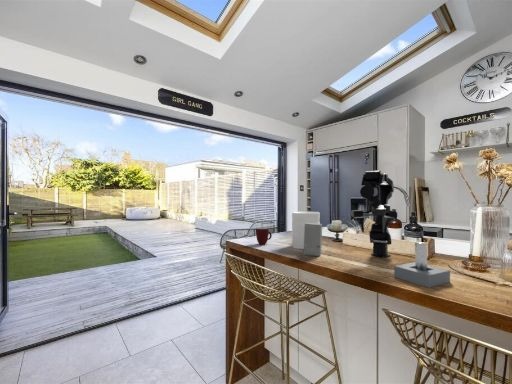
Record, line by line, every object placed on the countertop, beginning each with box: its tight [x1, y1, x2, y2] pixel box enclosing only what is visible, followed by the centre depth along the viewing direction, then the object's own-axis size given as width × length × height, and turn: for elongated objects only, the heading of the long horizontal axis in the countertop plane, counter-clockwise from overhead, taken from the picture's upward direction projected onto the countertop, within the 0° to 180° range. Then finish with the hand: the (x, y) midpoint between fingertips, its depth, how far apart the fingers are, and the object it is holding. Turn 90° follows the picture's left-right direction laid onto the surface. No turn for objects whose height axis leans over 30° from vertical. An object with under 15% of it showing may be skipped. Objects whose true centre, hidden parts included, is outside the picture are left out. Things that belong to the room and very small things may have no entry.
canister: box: [291, 211, 321, 250], centre depth 145 cm, size 16×16×20 cm
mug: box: [255, 226, 272, 246], centre depth 152 cm, size 10×8×10 cm
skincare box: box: [303, 223, 323, 257], centre depth 126 cm, size 8×7×16 cm
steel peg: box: [414, 241, 428, 271], centre depth 88 cm, size 4×4×13 cm
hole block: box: [393, 261, 451, 289], centre depth 88 cm, size 12×12×4 cm
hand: (373, 232), depth 112 cm, fingers open, 9 cm apart
